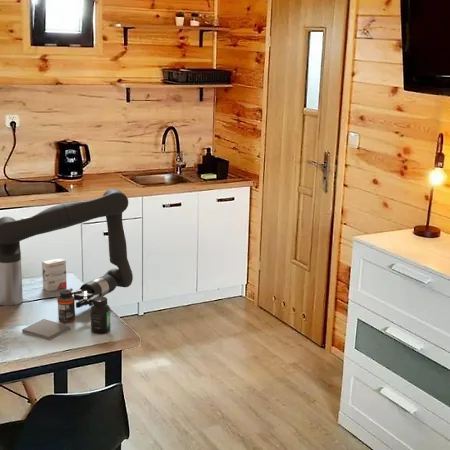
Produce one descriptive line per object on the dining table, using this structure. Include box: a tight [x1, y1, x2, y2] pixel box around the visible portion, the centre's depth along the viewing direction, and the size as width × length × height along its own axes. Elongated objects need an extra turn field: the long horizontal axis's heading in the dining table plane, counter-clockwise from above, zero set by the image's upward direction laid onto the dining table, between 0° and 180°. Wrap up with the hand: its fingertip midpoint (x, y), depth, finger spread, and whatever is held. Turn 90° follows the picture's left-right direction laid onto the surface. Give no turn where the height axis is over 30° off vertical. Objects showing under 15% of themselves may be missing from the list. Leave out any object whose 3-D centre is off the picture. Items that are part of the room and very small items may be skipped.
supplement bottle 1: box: [57, 289, 76, 324], centre depth 256 cm, size 6×6×11 cm
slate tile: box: [21, 318, 71, 341], centre depth 248 cm, size 12×11×1 cm
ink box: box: [41, 257, 68, 292], centre depth 288 cm, size 9×5×12 cm, turn 130°
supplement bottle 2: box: [90, 296, 111, 335], centre depth 249 cm, size 7×7×12 cm
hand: (67, 303), depth 257 cm, fingers open, 8 cm apart
